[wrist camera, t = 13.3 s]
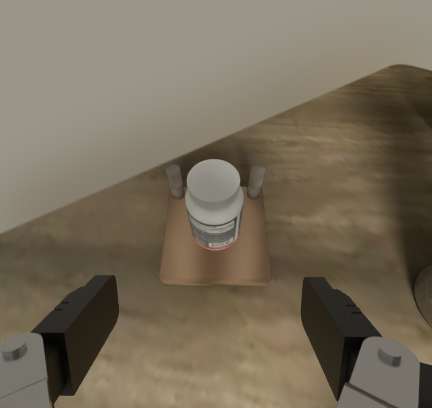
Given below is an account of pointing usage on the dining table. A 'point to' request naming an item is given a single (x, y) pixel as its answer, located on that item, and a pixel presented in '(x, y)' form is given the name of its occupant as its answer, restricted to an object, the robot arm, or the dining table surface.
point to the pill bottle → (214, 203)
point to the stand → (215, 259)
